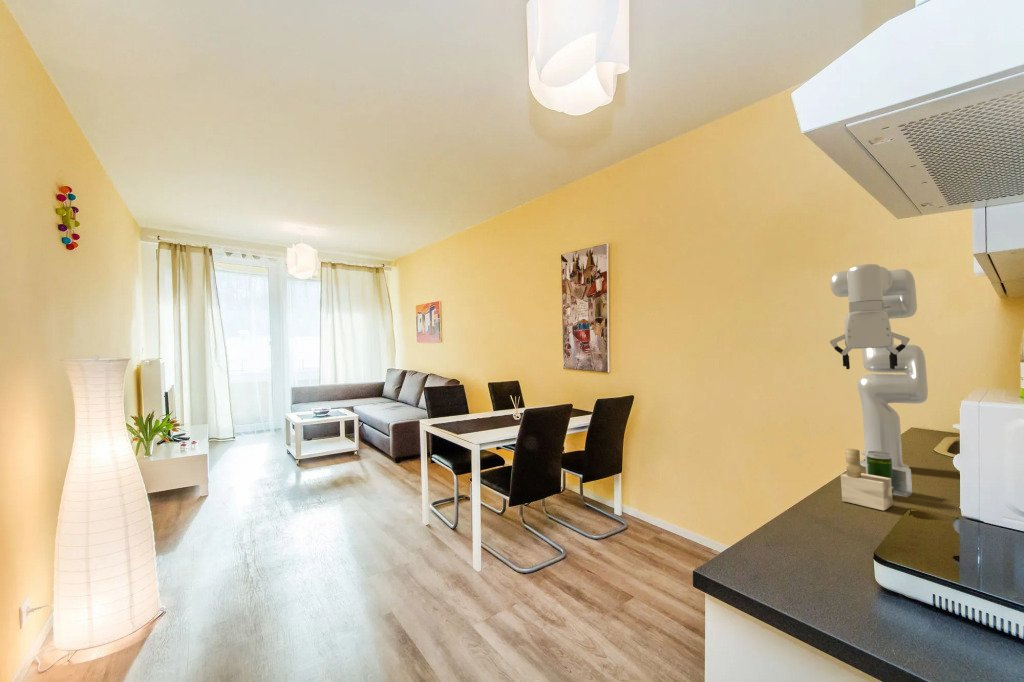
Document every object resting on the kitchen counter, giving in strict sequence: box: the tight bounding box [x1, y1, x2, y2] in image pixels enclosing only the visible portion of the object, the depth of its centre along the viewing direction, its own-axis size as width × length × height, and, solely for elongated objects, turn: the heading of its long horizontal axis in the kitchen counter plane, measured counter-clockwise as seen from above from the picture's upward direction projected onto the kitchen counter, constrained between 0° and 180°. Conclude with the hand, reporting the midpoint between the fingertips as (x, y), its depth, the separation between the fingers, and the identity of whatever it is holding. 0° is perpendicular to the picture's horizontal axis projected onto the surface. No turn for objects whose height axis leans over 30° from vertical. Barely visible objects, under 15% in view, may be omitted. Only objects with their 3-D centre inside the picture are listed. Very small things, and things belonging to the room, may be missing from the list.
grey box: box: [865, 465, 913, 498], centre depth 122 cm, size 4×9×7 cm, turn 32°
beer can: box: [867, 451, 895, 499], centre depth 119 cm, size 5×5×12 cm
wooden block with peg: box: [840, 448, 894, 511], centre depth 114 cm, size 6×9×14 cm, turn 32°
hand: (869, 369), depth 120 cm, fingers open, 9 cm apart
